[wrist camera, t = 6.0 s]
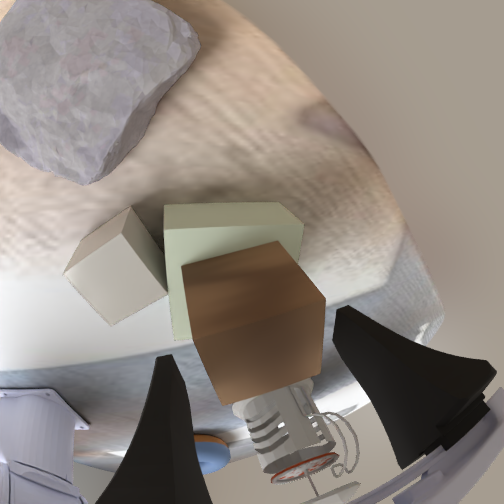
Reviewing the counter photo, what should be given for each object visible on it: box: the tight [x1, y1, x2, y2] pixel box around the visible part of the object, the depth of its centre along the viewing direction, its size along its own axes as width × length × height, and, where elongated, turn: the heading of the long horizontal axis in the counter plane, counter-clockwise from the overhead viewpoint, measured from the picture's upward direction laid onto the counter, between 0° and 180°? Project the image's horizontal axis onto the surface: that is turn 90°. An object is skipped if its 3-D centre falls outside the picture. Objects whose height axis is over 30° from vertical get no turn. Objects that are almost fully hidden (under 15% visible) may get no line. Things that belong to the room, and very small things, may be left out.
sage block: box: [164, 202, 304, 341], centre depth 17 cm, size 7×7×4 cm
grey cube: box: [63, 206, 168, 326], centre depth 14 cm, size 4×4×4 cm
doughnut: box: [194, 434, 231, 475], centre depth 28 cm, size 10×10×5 cm
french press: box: [232, 378, 361, 504], centre depth 18 cm, size 10×12×25 cm
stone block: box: [0, 0, 201, 185], centre depth 9 cm, size 12×5×10 cm
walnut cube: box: [181, 240, 326, 406], centre depth 13 cm, size 5×5×5 cm
